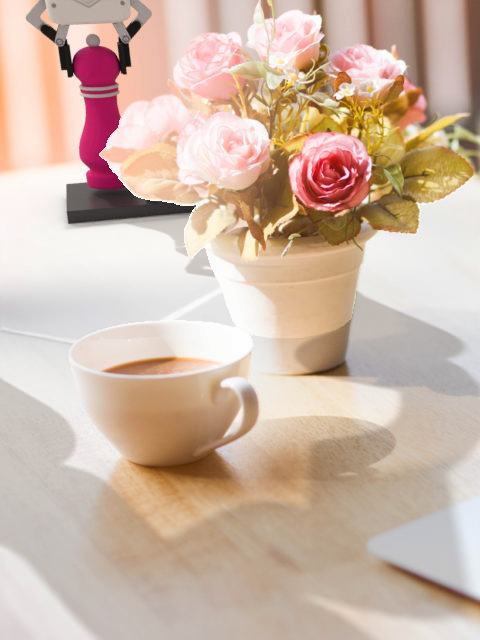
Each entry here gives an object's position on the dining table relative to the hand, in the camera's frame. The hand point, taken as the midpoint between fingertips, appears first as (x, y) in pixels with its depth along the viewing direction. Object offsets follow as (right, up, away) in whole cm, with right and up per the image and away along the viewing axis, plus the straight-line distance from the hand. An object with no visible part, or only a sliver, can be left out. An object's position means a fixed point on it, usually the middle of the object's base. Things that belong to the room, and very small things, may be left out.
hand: (97, 73), depth 155 cm
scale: (+3, -17, +6) cm, 18 cm away
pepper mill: (0, -14, +6) cm, 15 cm away
